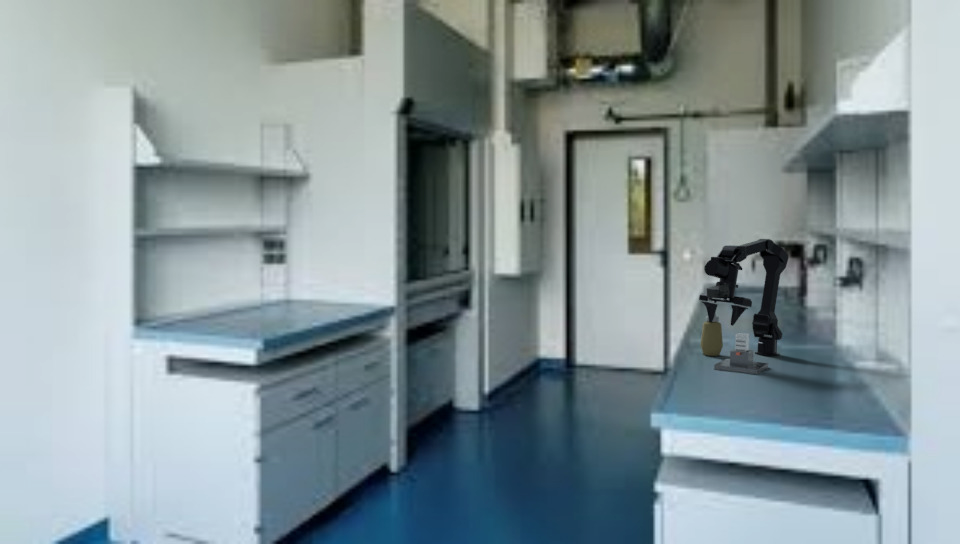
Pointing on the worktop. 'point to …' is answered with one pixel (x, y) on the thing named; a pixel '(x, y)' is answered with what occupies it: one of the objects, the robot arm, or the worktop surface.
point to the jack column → (742, 342)
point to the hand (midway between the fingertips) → (721, 323)
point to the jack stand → (741, 363)
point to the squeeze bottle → (711, 337)
